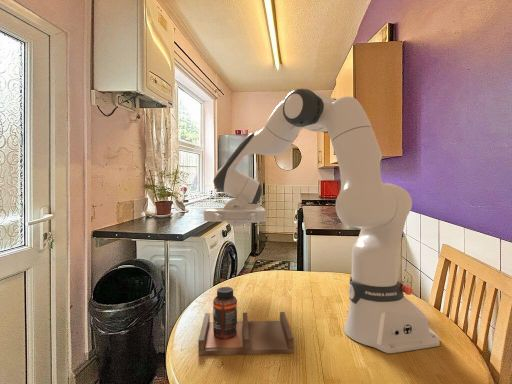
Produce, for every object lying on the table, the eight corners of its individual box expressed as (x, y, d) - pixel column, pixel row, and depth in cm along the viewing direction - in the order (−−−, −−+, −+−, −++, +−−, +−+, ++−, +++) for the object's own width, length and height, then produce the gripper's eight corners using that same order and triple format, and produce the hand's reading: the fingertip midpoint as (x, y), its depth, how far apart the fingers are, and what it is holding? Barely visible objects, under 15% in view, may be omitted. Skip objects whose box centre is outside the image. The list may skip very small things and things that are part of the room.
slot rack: (284, 324, 85) (284, 311, 85) (293, 353, 71) (293, 338, 71) (205, 325, 84) (205, 313, 84) (198, 355, 70) (198, 340, 70)
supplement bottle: (241, 331, 78) (242, 287, 78) (228, 342, 73) (228, 295, 73) (222, 326, 81) (222, 283, 81) (208, 335, 76) (208, 290, 76)
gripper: (205, 203, 107) (200, 207, 93) (264, 203, 108) (267, 207, 95) (205, 221, 108) (200, 228, 94) (264, 221, 109) (267, 228, 95)
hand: (234, 218), depth 94 cm, fingers open, 8 cm apart
